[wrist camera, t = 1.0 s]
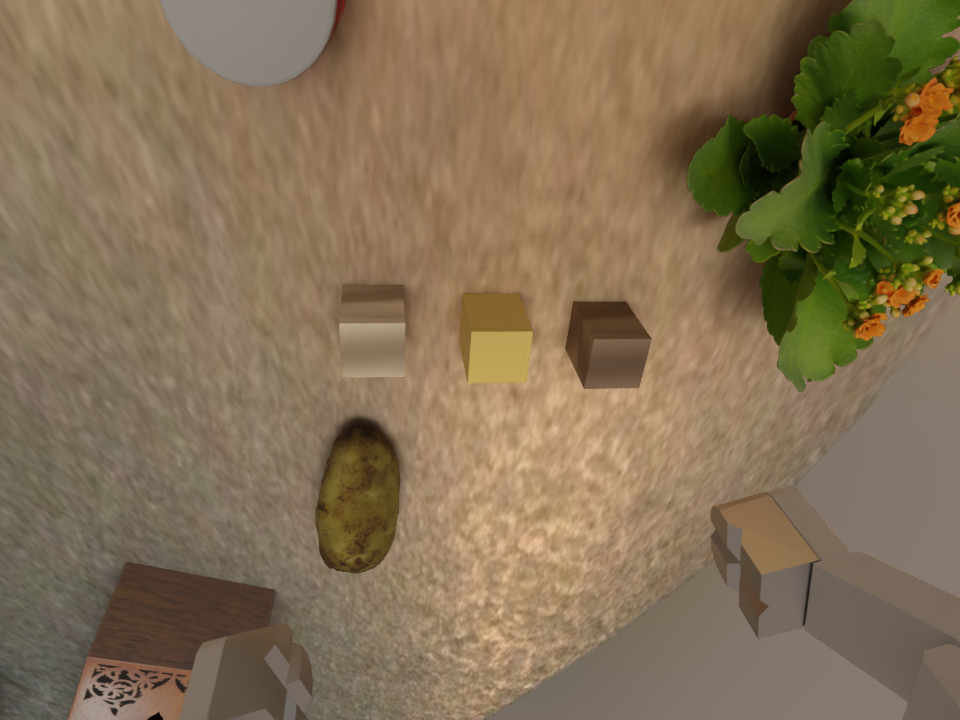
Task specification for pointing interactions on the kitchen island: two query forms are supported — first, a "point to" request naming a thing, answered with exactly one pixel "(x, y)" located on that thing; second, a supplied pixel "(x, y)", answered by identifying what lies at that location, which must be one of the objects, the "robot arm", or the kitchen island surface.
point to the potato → (358, 501)
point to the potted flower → (847, 183)
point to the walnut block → (607, 345)
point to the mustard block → (495, 338)
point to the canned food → (254, 35)
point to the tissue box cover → (160, 640)
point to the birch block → (372, 331)
